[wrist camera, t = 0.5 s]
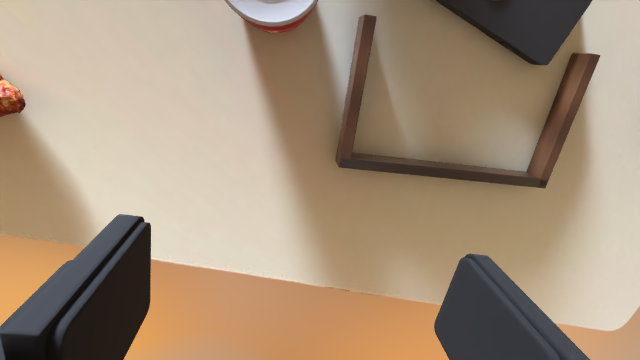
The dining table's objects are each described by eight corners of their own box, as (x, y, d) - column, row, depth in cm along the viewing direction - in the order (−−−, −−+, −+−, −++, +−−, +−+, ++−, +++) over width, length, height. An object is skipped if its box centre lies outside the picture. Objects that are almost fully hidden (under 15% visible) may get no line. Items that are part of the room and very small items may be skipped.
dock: (359, 16, 34) (364, 14, 32) (581, 54, 38) (600, 55, 35) (335, 160, 39) (338, 167, 37) (531, 181, 43) (545, 188, 41)
